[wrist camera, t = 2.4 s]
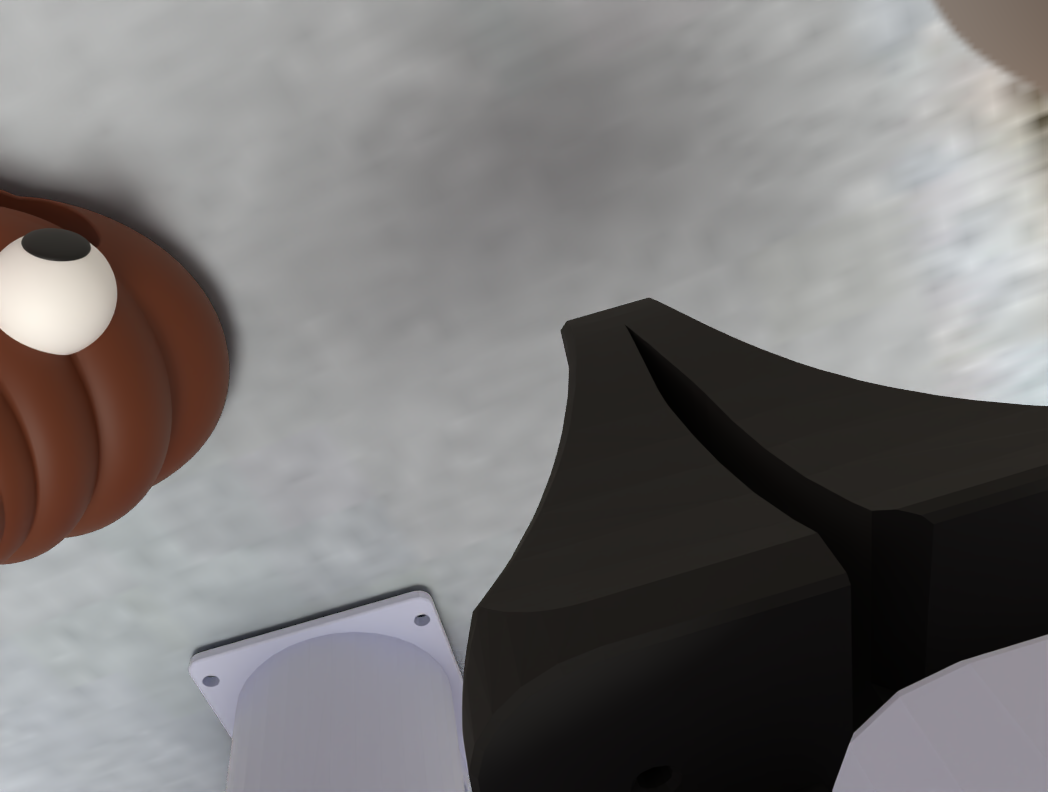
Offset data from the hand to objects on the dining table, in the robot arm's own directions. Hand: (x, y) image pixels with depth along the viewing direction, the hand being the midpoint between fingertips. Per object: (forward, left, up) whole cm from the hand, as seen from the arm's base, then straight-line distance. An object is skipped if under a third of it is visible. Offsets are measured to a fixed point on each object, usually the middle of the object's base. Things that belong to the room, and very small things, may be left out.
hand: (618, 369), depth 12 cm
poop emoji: (-1, +12, -11) cm, 16 cm away
